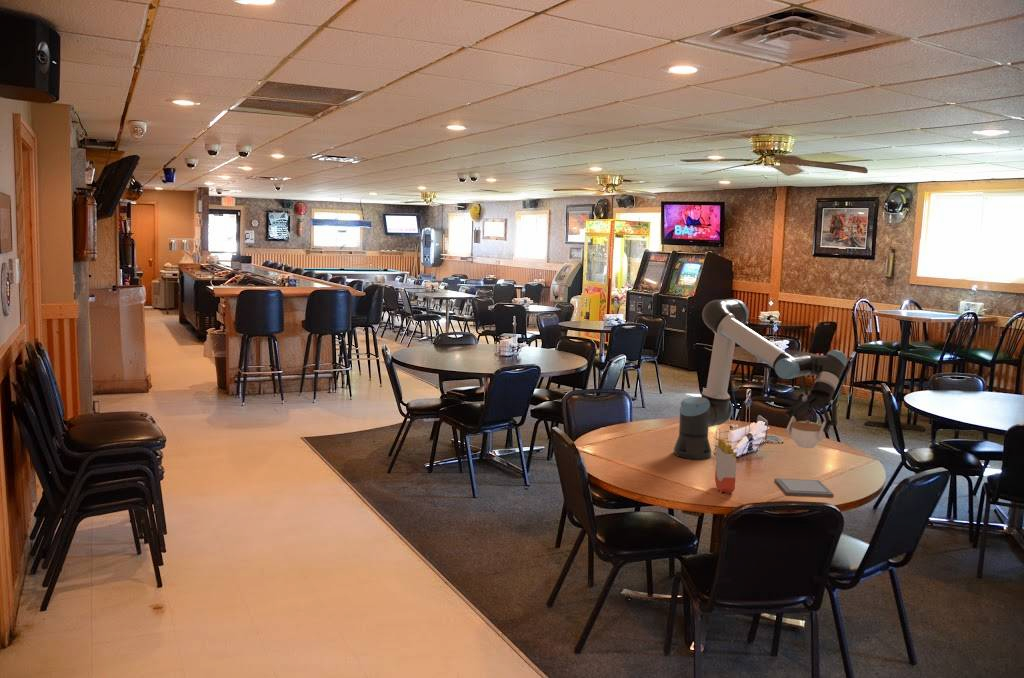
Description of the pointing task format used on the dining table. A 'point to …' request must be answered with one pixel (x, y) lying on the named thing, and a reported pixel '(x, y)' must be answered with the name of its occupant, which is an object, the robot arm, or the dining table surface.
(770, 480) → the dining table surface
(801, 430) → the lidded jar
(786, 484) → the bar mat
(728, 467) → the french fries container
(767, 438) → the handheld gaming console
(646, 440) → the dining table surface
